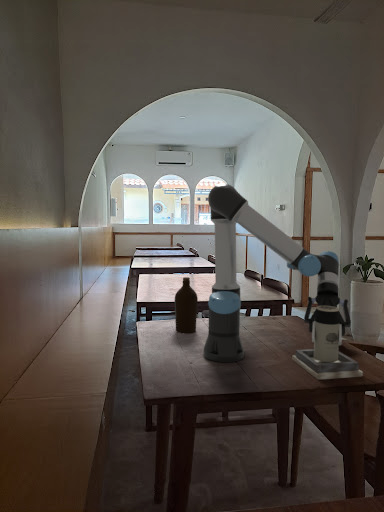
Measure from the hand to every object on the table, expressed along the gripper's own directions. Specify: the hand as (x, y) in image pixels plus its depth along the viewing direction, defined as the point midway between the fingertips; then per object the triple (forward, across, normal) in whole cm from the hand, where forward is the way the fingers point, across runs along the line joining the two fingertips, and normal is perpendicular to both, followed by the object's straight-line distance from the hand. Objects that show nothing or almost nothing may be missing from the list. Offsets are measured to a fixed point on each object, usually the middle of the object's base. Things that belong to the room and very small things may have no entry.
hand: (326, 341), depth 122 cm
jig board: (+5, 0, -10) cm, 11 cm away
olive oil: (-12, +61, -26) cm, 67 cm away
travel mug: (+3, 0, -8) cm, 8 cm away
